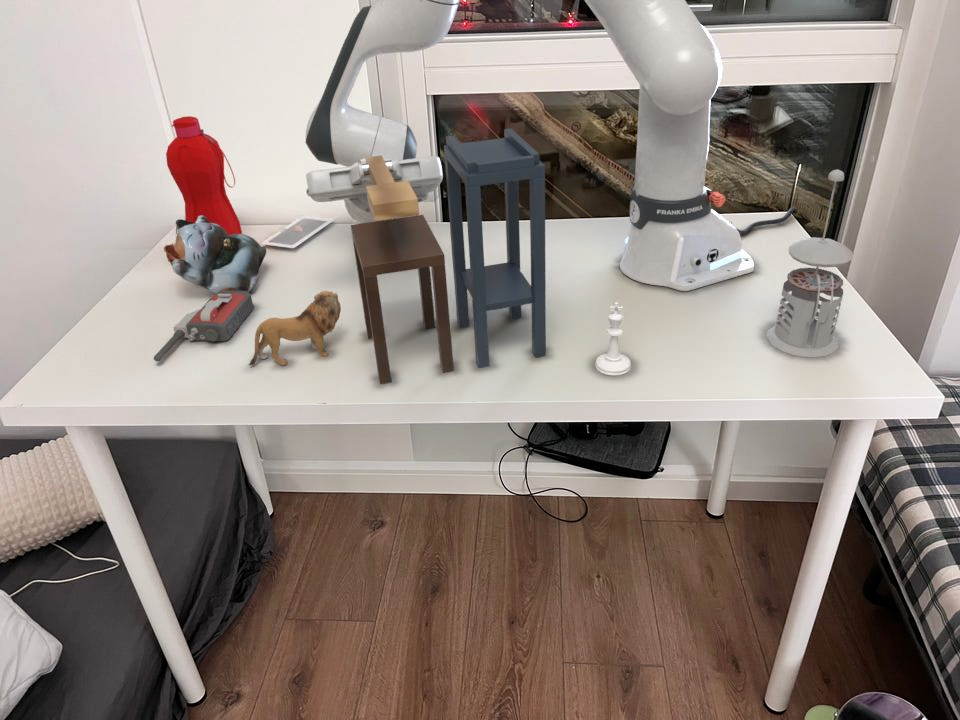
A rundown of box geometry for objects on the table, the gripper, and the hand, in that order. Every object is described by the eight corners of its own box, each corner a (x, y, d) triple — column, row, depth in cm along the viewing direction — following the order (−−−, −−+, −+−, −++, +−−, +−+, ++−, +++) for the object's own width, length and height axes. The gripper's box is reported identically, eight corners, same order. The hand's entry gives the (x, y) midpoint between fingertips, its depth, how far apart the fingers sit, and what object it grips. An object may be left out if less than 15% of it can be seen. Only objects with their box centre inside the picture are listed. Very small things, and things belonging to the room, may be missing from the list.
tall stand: (518, 313, 120) (513, 127, 104) (545, 356, 109) (545, 155, 93) (457, 323, 118) (443, 136, 102) (478, 368, 107) (466, 166, 91)
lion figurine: (341, 334, 117) (332, 282, 112) (352, 349, 113) (343, 296, 108) (246, 360, 112) (232, 307, 107) (253, 377, 108) (240, 323, 103)
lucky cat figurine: (247, 303, 127) (187, 244, 119) (199, 320, 133) (138, 264, 124) (278, 244, 136) (224, 186, 128) (232, 262, 142) (177, 207, 134)
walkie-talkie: (210, 303, 128) (151, 367, 111) (204, 279, 126) (142, 341, 109) (259, 304, 127) (207, 369, 110) (253, 280, 124) (199, 343, 108)
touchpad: (336, 224, 155) (334, 214, 154) (294, 253, 144) (292, 242, 143) (304, 220, 158) (302, 210, 157) (260, 248, 146) (258, 238, 145)
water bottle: (243, 256, 144) (211, 123, 131) (186, 258, 144) (149, 126, 131) (256, 236, 152) (227, 109, 138) (202, 238, 152) (168, 112, 139)
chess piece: (630, 377, 103) (634, 312, 98) (593, 374, 104) (596, 310, 99) (631, 357, 107) (635, 295, 102) (596, 355, 108) (598, 293, 103)
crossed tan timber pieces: (393, 165, 112) (392, 151, 110) (419, 215, 95) (417, 198, 93) (356, 170, 110) (354, 155, 109) (375, 221, 94) (372, 204, 92)
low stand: (433, 322, 119) (423, 214, 109) (453, 371, 107) (444, 254, 97) (367, 334, 117) (350, 224, 107) (380, 384, 105) (362, 266, 95)
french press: (831, 323, 112) (869, 158, 99) (849, 366, 103) (894, 189, 89) (762, 320, 114) (790, 157, 100) (773, 362, 104) (806, 188, 91)
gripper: (303, 175, 118) (299, 154, 105) (431, 159, 122) (443, 136, 109) (310, 215, 119) (307, 199, 105) (437, 198, 123) (450, 180, 109)
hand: (377, 167), depth 107 cm, fingers closed on crossed tan timber pieces, 2 cm apart
